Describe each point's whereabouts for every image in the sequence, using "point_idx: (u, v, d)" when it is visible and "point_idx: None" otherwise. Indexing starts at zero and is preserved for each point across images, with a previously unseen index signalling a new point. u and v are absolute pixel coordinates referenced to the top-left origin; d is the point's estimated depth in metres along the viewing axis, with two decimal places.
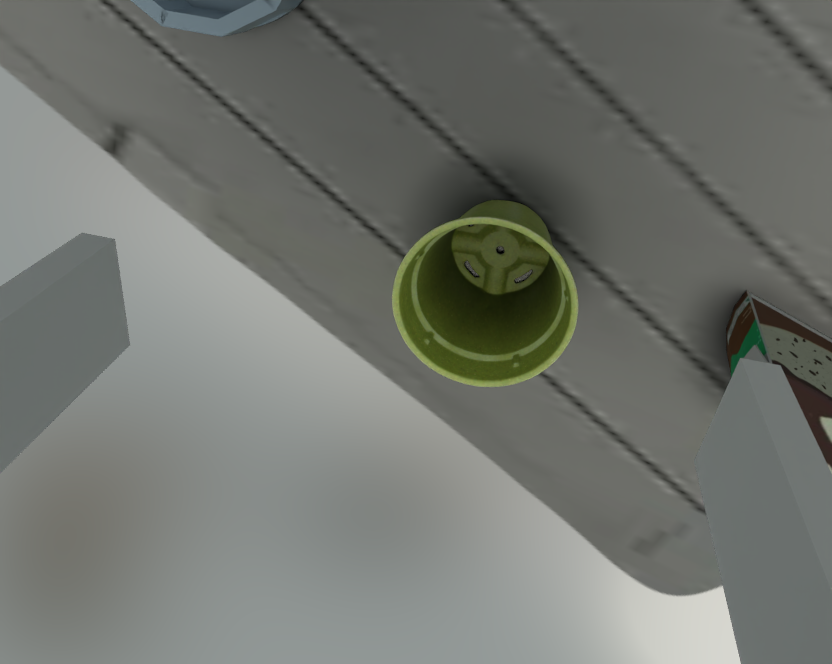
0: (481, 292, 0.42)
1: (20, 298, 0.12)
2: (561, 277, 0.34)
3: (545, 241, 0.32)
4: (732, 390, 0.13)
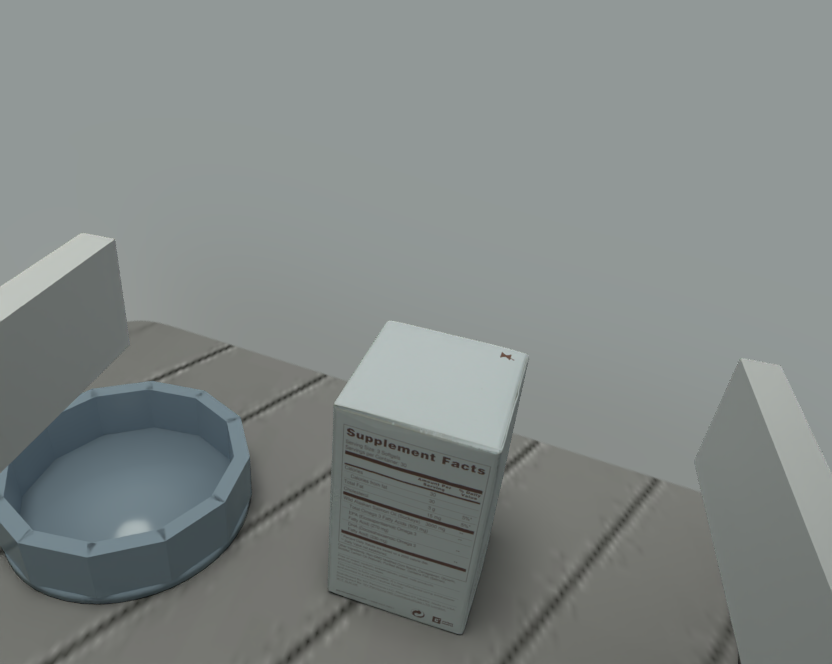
0: None
1: (20, 298, 0.12)
2: None
3: None
4: (732, 390, 0.13)
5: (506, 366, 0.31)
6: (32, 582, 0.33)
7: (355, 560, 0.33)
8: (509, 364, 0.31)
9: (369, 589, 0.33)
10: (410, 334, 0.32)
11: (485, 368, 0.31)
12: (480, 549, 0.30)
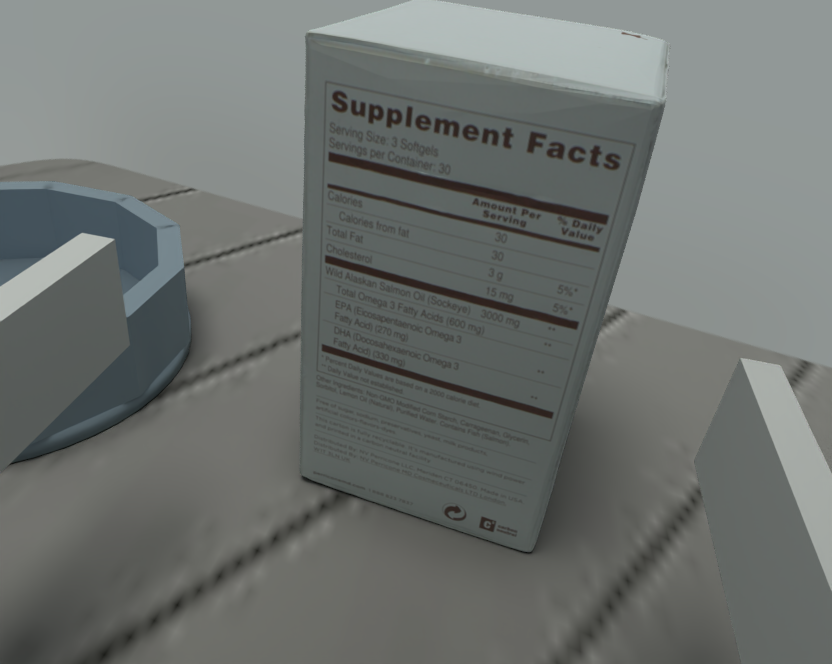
0: None
1: (20, 298, 0.12)
2: None
3: None
4: (732, 390, 0.13)
5: (636, 40, 0.17)
6: None
7: (346, 410, 0.18)
8: (640, 40, 0.17)
9: (370, 467, 0.19)
10: (456, 7, 0.18)
11: (598, 36, 0.16)
12: (586, 367, 0.15)
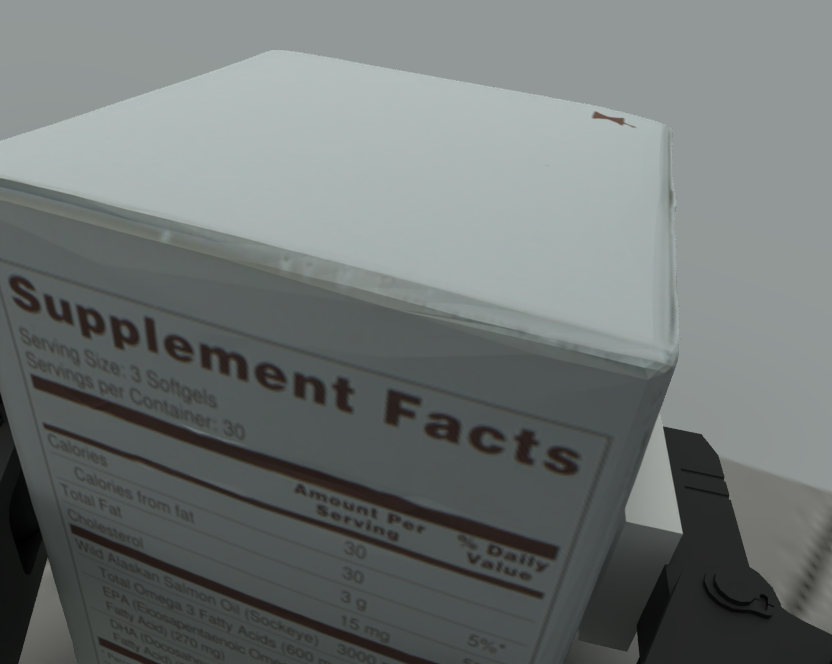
0: None
1: None
2: None
3: None
4: None
5: (616, 134, 0.10)
6: None
7: None
8: (624, 132, 0.10)
9: None
10: (326, 67, 0.11)
11: (551, 130, 0.09)
12: None
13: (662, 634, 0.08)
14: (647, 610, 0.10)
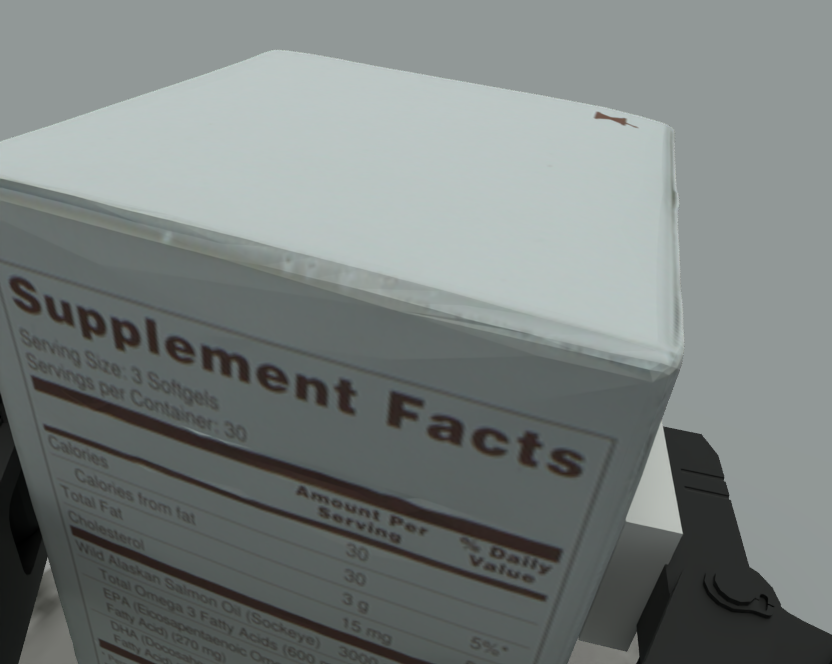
0: None
1: None
2: None
3: None
4: None
5: (619, 134, 0.10)
6: None
7: None
8: (626, 133, 0.10)
9: None
10: (327, 67, 0.11)
11: (553, 130, 0.09)
12: None
13: (662, 634, 0.08)
14: (647, 610, 0.10)
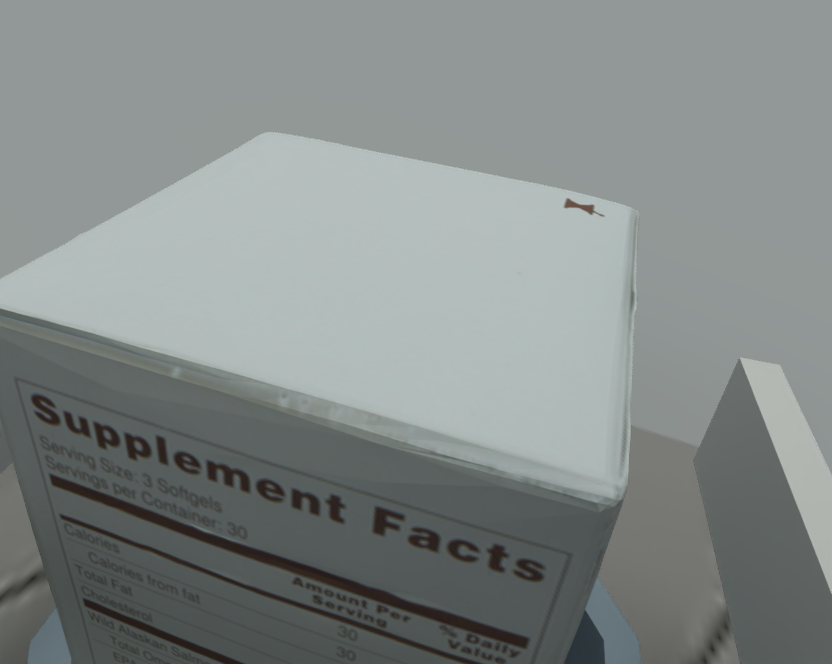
0: None
1: None
2: None
3: None
4: (731, 390, 0.13)
5: (586, 227, 0.11)
6: None
7: None
8: (592, 223, 0.11)
9: None
10: (316, 154, 0.12)
11: (525, 226, 0.10)
12: None
13: None
14: None
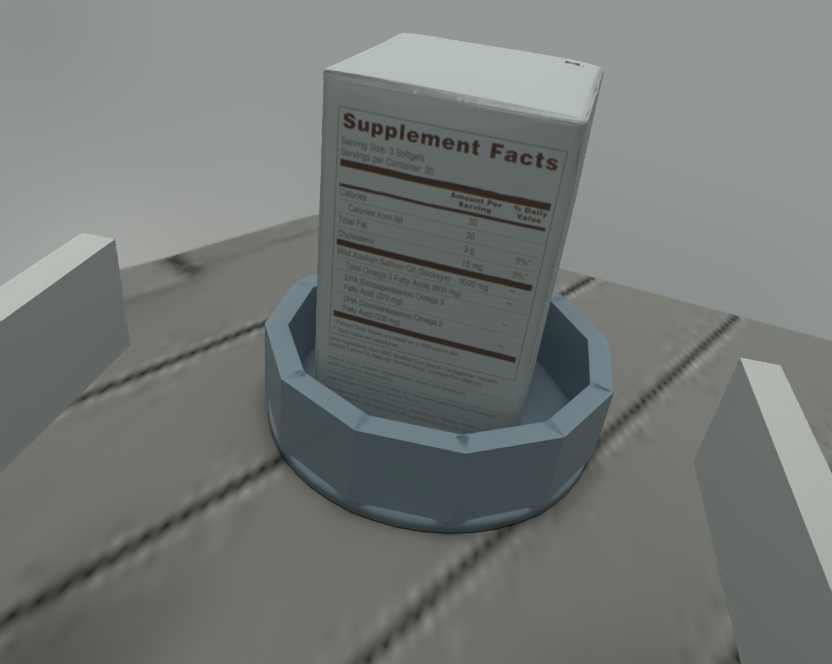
0: None
1: (20, 298, 0.12)
2: None
3: None
4: (732, 390, 0.13)
5: (575, 68, 0.21)
6: (352, 497, 0.22)
7: (353, 363, 0.23)
8: (579, 68, 0.22)
9: (372, 411, 0.24)
10: (434, 40, 0.23)
11: (545, 66, 0.21)
12: (539, 320, 0.20)
13: None
14: None
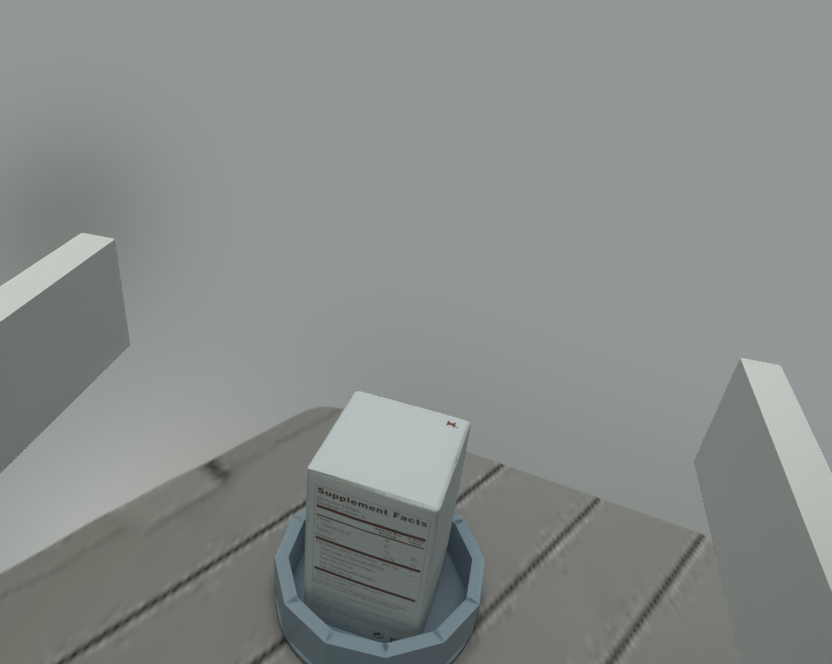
0: None
1: (20, 298, 0.12)
2: None
3: None
4: (732, 390, 0.13)
5: (450, 433, 0.38)
6: None
7: (326, 591, 0.39)
8: (453, 432, 0.38)
9: (338, 614, 0.40)
10: (373, 404, 0.39)
11: (433, 435, 0.38)
12: (426, 584, 0.37)
13: None
14: None
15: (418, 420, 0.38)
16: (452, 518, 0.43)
